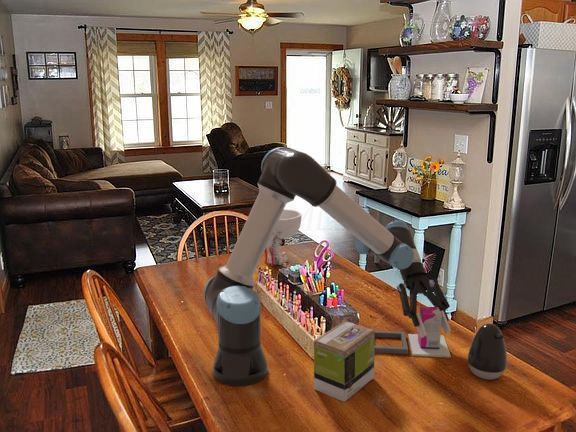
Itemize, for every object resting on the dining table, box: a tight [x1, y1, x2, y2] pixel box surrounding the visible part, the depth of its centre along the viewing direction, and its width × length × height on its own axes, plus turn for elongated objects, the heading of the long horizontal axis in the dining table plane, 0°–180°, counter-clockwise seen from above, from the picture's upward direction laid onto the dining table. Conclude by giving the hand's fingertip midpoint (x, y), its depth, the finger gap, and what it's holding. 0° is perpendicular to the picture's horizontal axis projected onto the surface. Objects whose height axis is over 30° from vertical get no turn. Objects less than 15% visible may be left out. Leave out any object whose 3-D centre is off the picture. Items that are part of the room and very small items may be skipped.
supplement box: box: [417, 306, 442, 349], centre depth 162 cm, size 6×6×12 cm
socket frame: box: [374, 330, 409, 355], centre depth 164 cm, size 11×11×2 cm
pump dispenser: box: [467, 322, 508, 381], centre depth 145 cm, size 10×10×15 cm
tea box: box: [313, 320, 376, 402], centre depth 141 cm, size 15×10×15 cm, turn 141°
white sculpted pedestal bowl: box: [264, 208, 303, 268], centre depth 233 cm, size 25×19×23 cm
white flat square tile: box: [407, 333, 452, 359], centre depth 163 cm, size 13×11×1 cm
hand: (436, 334), depth 159 cm, fingers open, 8 cm apart
